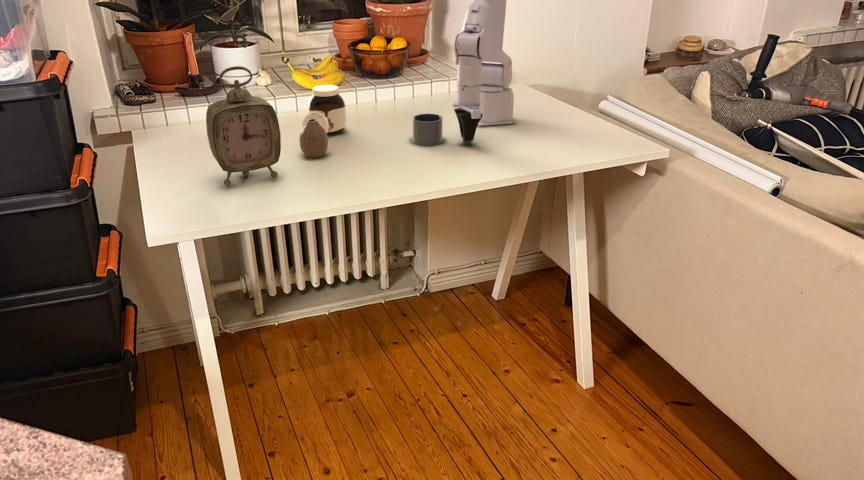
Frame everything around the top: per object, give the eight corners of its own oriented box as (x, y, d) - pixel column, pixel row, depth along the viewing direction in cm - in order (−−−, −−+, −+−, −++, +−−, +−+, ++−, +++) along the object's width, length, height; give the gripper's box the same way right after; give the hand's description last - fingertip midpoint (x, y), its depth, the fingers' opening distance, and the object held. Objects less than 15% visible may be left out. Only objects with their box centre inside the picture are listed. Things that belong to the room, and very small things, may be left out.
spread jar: (345, 125, 191) (342, 83, 185) (350, 138, 181) (348, 94, 175) (301, 129, 189) (297, 86, 183) (304, 142, 179) (300, 97, 174)
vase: (333, 151, 172) (331, 117, 168) (322, 161, 167) (319, 125, 162) (307, 149, 174) (305, 115, 170) (296, 158, 169) (292, 123, 165)
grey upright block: (470, 142, 176) (470, 119, 173) (472, 145, 174) (473, 121, 171) (461, 143, 176) (462, 120, 173) (463, 146, 174) (464, 122, 171)
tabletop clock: (220, 191, 152) (203, 75, 140) (212, 177, 159) (195, 66, 147) (285, 179, 157) (273, 66, 145) (274, 167, 164) (262, 58, 152)
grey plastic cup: (438, 135, 182) (438, 112, 179) (445, 144, 175) (445, 121, 172) (410, 137, 181) (410, 114, 178) (416, 146, 174) (416, 123, 171)
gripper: (445, 78, 173) (444, 131, 180) (460, 93, 161) (459, 149, 167) (473, 76, 174) (471, 129, 181) (490, 90, 162) (487, 147, 168)
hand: (467, 138), depth 174 cm, fingers closed on grey upright block, 2 cm apart
